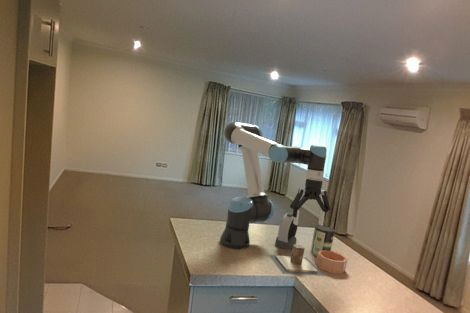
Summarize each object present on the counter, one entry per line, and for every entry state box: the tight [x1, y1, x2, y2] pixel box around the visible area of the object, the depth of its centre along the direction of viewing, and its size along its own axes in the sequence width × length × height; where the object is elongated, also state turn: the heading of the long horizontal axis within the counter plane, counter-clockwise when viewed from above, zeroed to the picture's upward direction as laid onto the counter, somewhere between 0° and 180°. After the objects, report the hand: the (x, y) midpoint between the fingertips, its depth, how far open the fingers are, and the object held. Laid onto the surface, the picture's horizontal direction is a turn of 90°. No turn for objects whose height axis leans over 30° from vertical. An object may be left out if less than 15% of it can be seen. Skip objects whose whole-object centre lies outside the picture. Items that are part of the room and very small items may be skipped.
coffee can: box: [310, 224, 336, 257], centre depth 193 cm, size 10×10×14 cm
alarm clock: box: [274, 211, 299, 250], centre depth 197 cm, size 16×10×18 cm, turn 152°
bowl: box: [315, 250, 348, 274], centre depth 176 cm, size 13×13×6 cm
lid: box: [275, 244, 318, 273], centre depth 172 cm, size 15×15×9 cm
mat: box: [268, 254, 326, 277], centre depth 172 cm, size 20×20×1 cm
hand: (308, 224), depth 171 cm, fingers open, 13 cm apart
